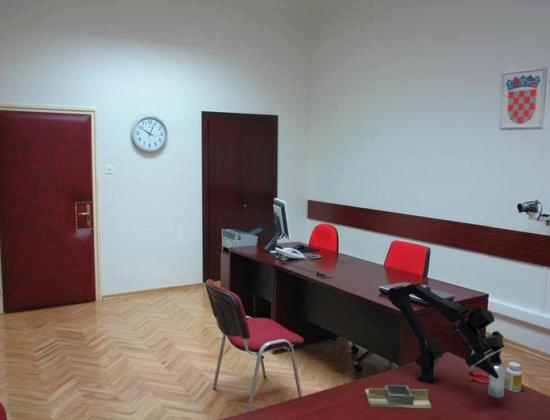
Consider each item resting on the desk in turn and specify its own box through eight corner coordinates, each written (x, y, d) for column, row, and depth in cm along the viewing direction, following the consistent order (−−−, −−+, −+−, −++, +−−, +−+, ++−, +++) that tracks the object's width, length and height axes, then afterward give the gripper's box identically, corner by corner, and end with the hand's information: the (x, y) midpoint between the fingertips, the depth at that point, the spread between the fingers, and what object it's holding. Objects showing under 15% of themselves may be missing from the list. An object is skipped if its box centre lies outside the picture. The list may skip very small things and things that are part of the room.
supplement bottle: (522, 388, 183) (524, 364, 182) (518, 393, 179) (520, 368, 178) (507, 384, 186) (509, 359, 185) (503, 388, 182) (504, 364, 181)
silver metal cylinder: (487, 389, 173) (489, 361, 172) (503, 392, 171) (505, 363, 170) (488, 395, 168) (490, 366, 167) (504, 398, 167) (506, 369, 166)
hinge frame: (365, 391, 179) (365, 379, 178) (422, 393, 178) (423, 381, 178) (370, 406, 168) (370, 394, 167) (431, 408, 167) (431, 395, 167)
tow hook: (494, 378, 192) (469, 372, 196) (497, 347, 191) (472, 342, 194) (493, 387, 185) (467, 381, 188) (497, 355, 183) (471, 349, 187)
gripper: (476, 330, 164) (507, 373, 157) (500, 319, 176) (530, 358, 169) (453, 346, 171) (482, 387, 164) (478, 334, 183) (506, 372, 176)
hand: (501, 375), depth 168 cm, fingers closed on silver metal cylinder, 5 cm apart
